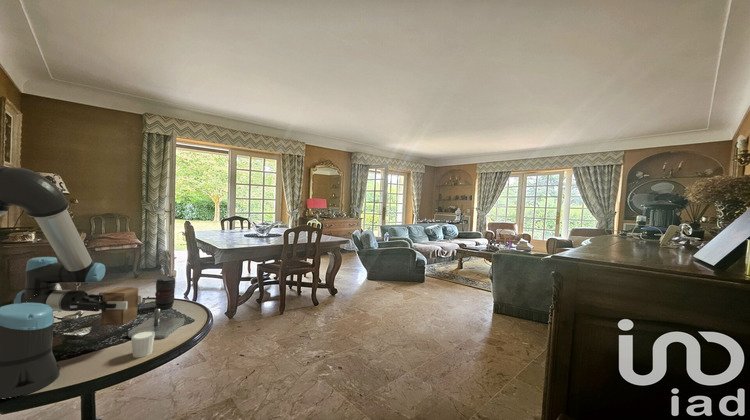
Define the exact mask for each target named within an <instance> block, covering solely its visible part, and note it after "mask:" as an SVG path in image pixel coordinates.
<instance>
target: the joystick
mask: <svg viewBox="0 0 750 420" xmlns="http://www.w3.org/2000/svg"><path fill="white" fill-rule="evenodd" d="M161 312H162V311H161V308H157V307H156V308H154V315H153V317H150V318H148V319H147V320H145V321H144V322H142V323H140V324H138V325H137V326H135V327H134V328H132V329H130V330H129V331H128V335H127V336H128V338H131V337H132V336H133V335H134V334H137V333H140V332H144V331H153V332H155V336H154V339H167V338H168V337H169V336H170V335H171V334H173V333H174V332H175V331H176V330H178V329H180V328H181V327H182V326H183V325H184V324H185V318H183V317H161Z"/></svg>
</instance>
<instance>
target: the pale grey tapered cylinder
mask: <svg viewBox="0 0 750 420" xmlns="http://www.w3.org/2000/svg"><path fill="white" fill-rule="evenodd" d="M154 336H155V332H153V331H144V332H140V333H137V334H134V335H133V336H132V337H131V349H132V351H131V352H132V357H134V358H136V359H137V358H144V357H147V356H149V355H151V354H152V353H153V349H154V341H155V338H154Z"/></svg>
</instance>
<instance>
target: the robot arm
mask: <svg viewBox="0 0 750 420" xmlns="http://www.w3.org/2000/svg"><path fill="white" fill-rule="evenodd" d="M10 207H18V208H19V209H22V210H24V212H25V214H26V216H28V217H30V218H34V219H35V221H36V223H37V225H38V226H39V228H40V229H41V231H42V233H43V234H44V236H45V238H46V240H47V241H48V243H49V244H50V247H51V248H52V249H53V251H54V253H55V254H56V256H57V257H55V256H39V257H32V258H30V259H28V260H27V262H26V267H25V287H24V289H23V290H21V291H19V292H17V294H16V296H15V298H14V299H13V303H11V304H6V305H3V306H0V399H2V398H9V397H15V398H18V397H17V396H19V397H22V396H25V395H27V394H28V395H29V394H31V393H34V392H36V391H38V390H42V389H44V388H45V387H47V386H48V385H51V384H52V383H54V382H55V381H56V380H57V379H58V378H59V377H60V371H61V370H60V369H61V368H60V364H58V363H57V359H56V358H55V355H54V353H53V341H54V339H53V337H54V322H55V317H54V311H55V312H58V313H61V312H78V311H85V312H95V313H98V312H99V311H100V312H101V313H102V312H105V310H106V308H107V309H123V310H126V309H127V305H128V302H123V301H108V302H107V303H106V302H102V298H103V292H98V294H94V293H93V294H92V293H91V294H90V293H89V294H88V293H87V292H86V291H85V290H80V289H79V290H77V289H74V290H73V289H56V286H57V284H92V283H99V282H101V281H102V280H103V278H104V277H105V274H106V266H105V264H103V263H101V262H94V261H93V259H92V258H91V256H90V253H89V251H88V249H87V248H86V245H85V244H84V242H83V240H82V238H81V235H80V233H79V232H78V229H77V227H76V226H75V224H74V221H73V219H72V217H71V215H70V213H69V212H68V209H69V207H70V204H69V201H68V199H67V197H66V196H65V195H64V193H63V192H62V190H60V189H59V188H58V186H56V185H55V184H54V183H53V182H52V181H50V179H48V178H46V177H45V176H43V175H42V174H40V173H38V172H35V171H33V170H30V169H27V168H24V167H15V166H14V167H13V166H12V167H11V166H9V167H8V166H0V218H1V217H2V216H4V215H6V214H7V213H9V208H10ZM58 260H59V261H60V262H58ZM36 294H37V295H36ZM34 295H35V296H34ZM30 298H31V299H30ZM26 301H27V302H26ZM25 302H26V303H25ZM142 302H143V294H138V303H142ZM21 395H22V396H21Z"/></svg>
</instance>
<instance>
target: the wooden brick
mask: <svg viewBox="0 0 750 420" xmlns="http://www.w3.org/2000/svg"><path fill="white" fill-rule="evenodd" d="M102 293H103V298H102V302H106V303H107V302H108V301H123V302H128V305H127V309H126V310H123V309H107V308H106V310H105V312H101V321H100V323H101V324H100V326H124V325H126V324H128V323H130V322H132V321H134V320H136V319H137V318H138V306H139V305H138V303H139V302H138V295H139V287H129V286H126V287H125V286H118V287H115V288H112V289H109V290H106V291H103V292H102Z"/></svg>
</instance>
